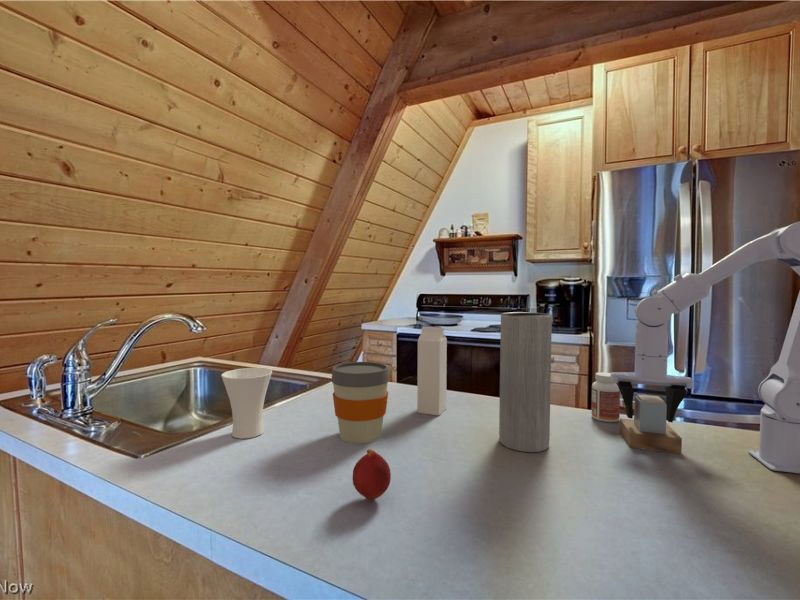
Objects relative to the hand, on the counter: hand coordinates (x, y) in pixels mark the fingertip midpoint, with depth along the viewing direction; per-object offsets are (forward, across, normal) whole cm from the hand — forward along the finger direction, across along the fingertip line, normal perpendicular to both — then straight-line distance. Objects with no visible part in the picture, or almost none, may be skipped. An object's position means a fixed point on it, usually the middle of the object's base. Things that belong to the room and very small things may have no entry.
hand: (649, 418), depth 82 cm
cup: (+5, +83, +23) cm, 86 cm away
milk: (+5, +48, -5) cm, 49 cm away
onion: (+5, +47, +39) cm, 61 cm away
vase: (+5, +25, +9) cm, 27 cm away
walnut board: (+5, 0, 0) cm, 5 cm away
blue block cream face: (+2, 0, 0) cm, 2 cm away
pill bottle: (+5, +6, -13) cm, 15 cm away
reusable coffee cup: (+5, +59, +16) cm, 61 cm away
